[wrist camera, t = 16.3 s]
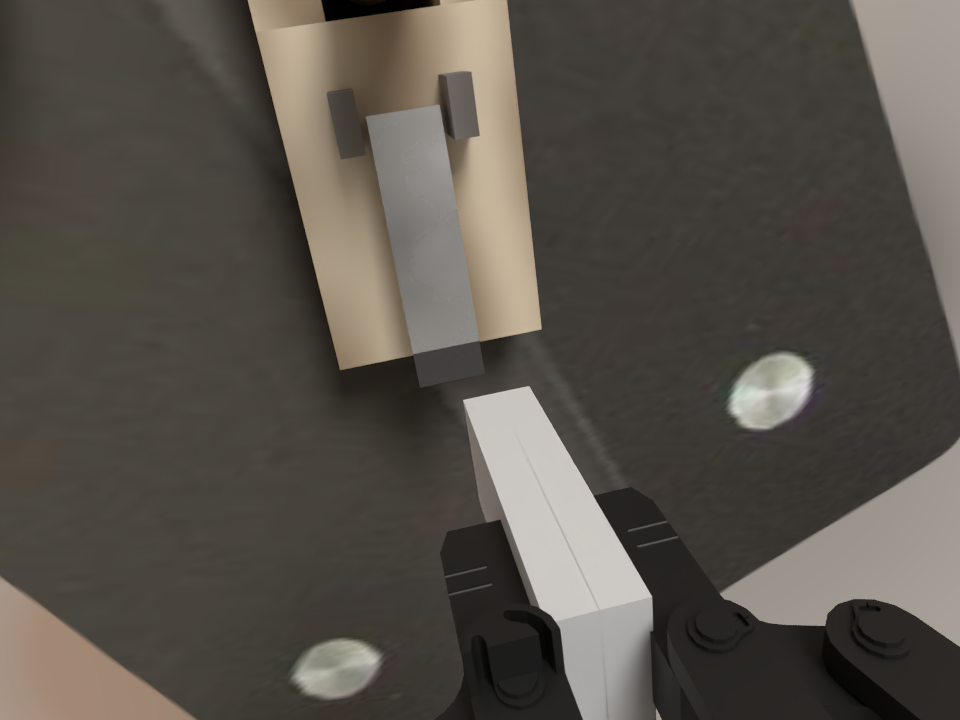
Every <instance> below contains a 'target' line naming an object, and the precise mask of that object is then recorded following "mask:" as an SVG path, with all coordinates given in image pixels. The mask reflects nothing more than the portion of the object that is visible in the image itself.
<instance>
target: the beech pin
mask: <svg viewBox="0 0 960 720" xmlns="http://www.w3.org/2000/svg"><path fill="white" fill-rule="evenodd" d="M350 1H352V2H354V3H357V4H360V5H367V6H369V5H376V4H379V3H382V2H384V1H386V0H350Z"/></svg>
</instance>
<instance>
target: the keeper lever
mask: <svg viewBox="0 0 960 720" xmlns="http://www.w3.org/2000/svg"><path fill="white" fill-rule="evenodd" d="M366 123H367V128H368V133H369V138H370V143H371V148H372V153H373V158H374V163H375V168H376V173H377V178H378V183H379V188H380V193H381V198H382V203H383V208H384V213H385V218H386V223H387V228H388V233H389V238H390V243H391V248H392V253H393V258H394V263H395V268H396V273H397V278H398V283H399V288H400V293H401V298H402V303H403V308H404V313H405V318H406V323H407V328H408V333H409V338H410V343H411V348H412V353H413V358H414V363H415V368H416V373H417V378H418V383H419V386H420V388H422V387H427V386H431V385H436V384H441V383H446V382H451V381H455V380H460V379H465V378H470V377H475V376H479V375H484V374H485V371H484V365H483V359H482V353H481V347H480V341H479V335H478V329H477V323H476V317H475V311H474V305H473V300H472V294H471V288H470V282H469V276H468V270H467V264H466V258H465V252H464V246H463V240H462V234H461V228H460V222H459V216H458V210H457V204H456V198H455V193H454V187H453V181H452V175H451V169H450V163H449V157H448V151H447V145H446V139H445V133H444V127H443V121H442V115H441V109H440V105H434V106H428V107H422V108H416V109H409V110H403V111H397V112H391V113H385V114H378V115H372V116H366Z"/></svg>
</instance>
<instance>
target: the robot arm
mask: <svg viewBox="0 0 960 720" xmlns="http://www.w3.org/2000/svg"><path fill="white" fill-rule="evenodd" d="M463 403H464V409H465V415H466V421H467V427H468V433H469V440H470V446H471V452H472V458H473V464H474V470H475V476H476V482H477V488H478V494H479V500H480V504H481V507H482V510H483V513H484V516H485V519H486V522H487V523H483V524H479V525H475V526H470V527H466V528H462V529H458V530H453V531H449V532H447V535H446V538H445V540H444V543H443V546H442V549H441V552H440V555H441V560H442V565H443V570H444V574H445V579H446V584H447V589H448V594H449V599H450V604H451V609H452V614H453V619H454V623H455V628H456V633H457V638H458V643H459V647H460V652H461V657H462V662H463V666H464V677H463V682H462V686H461V689H460V691H459V693H458V695H457V697H456V699H455V700H454V702H453V703H452V704H451V705H450V706H449V708H448V709H447V710H446V711H445V712H444V713H443V714H441V715H440V716H439V717H437V718H436V719H435V720H656V708H657V710H658V712H659V714H660V716H661V718H662V720H960V647H959V646H958V645H956V644H955V643H953V642H952V641H950V640H949V639H947V638H946V637H945V636H943V635H941V634H940V633H939V632H937V631H936V630H934V629H933V628H932V627H930V626H929V625H927V624H926V623H924V622H923V621H921V620H920V619H919V618H917V617H916V616H914V615H912V614H910V613H908V612H907V611H905V610H903V609H901V608H899V607H897V606H895V605H892V604H888V603H884V602H880V601H877V600H865V599H853V600H850V601H847V602H843V603H840V604H838V605H836V606H835V607H834V609H832V610H831V611H830V612H829V613H828V615H827V620H826V625H825V626H800V625H798V626H797V625H778V624H770V623H766V622H763V621H759V620H758V619H757V618H756V617H755V616H754V615H753V614H752V613H751V612H750V611H748V610H747V609H746V608H744V607H742V606H740V605H738V604H736V603H733V602H732V601H729V600H724V599H723V598H722V596H721V595H720V594H719V593H718V591H717V590H716V588H715V587H714V586H713V584H712V583H711V581H710V580H709V579H708V577H707V576H706V574H705V573H704V572H703V570H702V569H701V567H700V566H699V565H698V563H697V562H696V560H695V559H694V558H693V556H692V555H691V553H690V552H689V551H688V549H687V548H686V546H685V545H684V544H683V542H682V541H681V539H678V537H677V534H676V532H675V531H674V529H673V528H672V527H671V525H670V524H669V523H667V521H666V518H665V517H664V515H663V514H662V513H661V511H660V510H659V508H658V507H657V506H656V504H655V503H654V501H653V500H651V499H649V498H648V497H646V496H645V495H643V494H641V493H640V492H638V491H637V490H635V489H633V488H632V487H629V488H625V489H621V490H616V491H612V492H608V493H603V494H599V495H595V496H593V495H592V493H591V491H590V490H589V488H588V486H587V485H586V483H585V481H584V479H583V478H582V476H581V474H580V473H579V471H578V469H577V467H576V466H575V464H574V462H573V461H572V459H571V457H570V455H569V454H568V452H567V450H566V449H565V447H564V445H563V443H562V442H561V440H560V438H559V437H558V435H557V433H556V432H555V430H554V428H553V426H552V425H551V423H550V421H549V420H548V418H547V416H546V414H545V413H544V411H543V409H542V408H541V406H540V404H539V402H538V401H537V399H536V397H535V396H534V394H533V392H532V391H531V389H530V387H529V386H527V387H523V388H518V389H513V390H508V391H504V392H499V393H494V394H489V395H485V396H480V397H475V398H471V399H466V400H463Z"/></svg>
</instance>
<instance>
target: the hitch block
mask: <svg viewBox="0 0 960 720" xmlns="http://www.w3.org/2000/svg"><path fill="white" fill-rule="evenodd" d="M424 2H425V8H418V9H411V10H404V11H398V12H391V13H384V14H377V15H370V16H363V17H356V18H349V19H342V20H335V21H328V22H326V19H325V14H324V9H323V4H322V0H248V3H249V7H250V11H251V15H252V19H253V23H254V27H255V31H256V35H257V39H258V43H259V47H260V51H261V55H262V59H263V63H264V67H265V71H266V75H267V79H268V83H269V87H270V91H271V95H272V99H273V103H274V107H275V111H276V115H277V119H278V123H279V127H280V131H281V135H282V139H283V143H284V147H285V151H286V155H287V159H288V163H289V167H290V171H291V175H292V179H293V183H294V187H295V191H296V195H297V199H298V204H299V208H300V212H301V216H302V220H303V224H304V228H305V232H306V236H307V240H308V244H309V248H310V252H311V256H312V260H313V264H314V268H315V272H316V276H317V280H318V284H319V288H320V292H321V296H322V300H323V304H324V308H325V312H326V316H327V320H328V324H329V328H330V332H331V336H332V340H333V344H334V348H335V352H336V356H337V360H338V364H339V368H340V370H343V369H348V368H353V367H358V366H363V365H368V364H373V363H378V362H383V361H388V360H393V359H398V358H402V357H407V356H412V355H413V353H412V348H411V343H410V338H409V333H408V328H407V323H406V318H405V313H404V308H403V303H402V298H401V293H400V288H399V283H398V278H397V273H396V268H395V263H394V258H393V253H392V248H391V243H390V238H389V233H388V228H387V223H386V218H385V213H384V208H383V203H382V198H381V193H380V188H379V183H378V178H377V173H376V168H375V163H374V158H373V153H372V148H371V143H370V138H369V133H368V128H367V123H366V116H372V115H378V114H385V113H391V112H397V111H403V110H409V109H416V108H422V107H428V106H434V105H440V109H441V115H442V121H443V127H444V133H445V139H446V145H447V151H448V157H449V163H450V169H451V175H452V181H453V187H454V193H455V198H456V204H457V210H458V216H459V222H460V228H461V234H462V240H463V246H464V252H465V258H466V264H467V270H468V276H469V282H470V288H471V294H472V300H473V305H474V311H475V317H476V323H477V329H478V335H479V341H480V342H481V341H486V340H491V339H496V338H501V337H506V336H511V335H516V334H521V333H526V332H530V331H535V330H540V329H542V328H541V319H540V310H539V300H538V291H537V281H536V272H535V262H534V253H533V243H532V234H531V224H530V215H529V205H528V196H527V186H526V177H525V168H524V158H523V149H522V139H521V130H520V120H519V111H518V101H517V92H516V82H515V73H514V63H513V54H512V45H511V35H510V26H509V16H508V7H507V0H424Z"/></svg>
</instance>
